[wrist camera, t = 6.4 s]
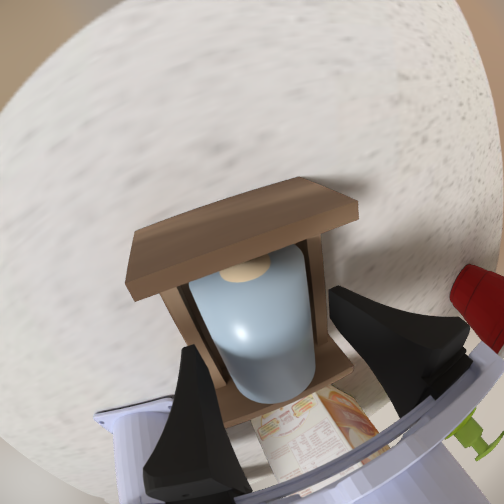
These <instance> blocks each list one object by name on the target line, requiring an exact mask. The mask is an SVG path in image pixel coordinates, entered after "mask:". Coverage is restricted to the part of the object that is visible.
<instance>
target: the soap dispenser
mask: <svg viewBox="0 0 504 504" xmlns="http://www.w3.org/2000/svg"><path fill="white" fill-rule="evenodd" d="M475 410H476V407H475V408H474V410H473V411H472V412H471V413H470V414H469V415H468V416H467V417H466V418H465V419H464V420H463V421H462V422H461V423H460V424H459V425H458V426H457V427H456V428H455V429H454V430H453V431H452V432H451V433H450V434H449V435H448V436H447V437H446V438H445V439H448V438H449V437H451V436H452V435H454V436H455V437H456V438H457V439H458V441H459V442H460V443H461V444H462V445H463V446H464V448H467V447H470V446H472V447H473V448H474V449H475V451H476V452H477V453H478V454H479V455H478V456H477V457H476V458H475V460H476V461H478V460H480V459H481V458H483V457H484V456H486V455H487V454H488V453H489V452H491V451H492V450H493V449H494V448H495V447H496V445H497V444H498V443H499V441H500V440H501V438H502V437H503V435H504V431H503V432H502V433H501V434H500V436H499V437H498V438H497V439H496V440H495V441H494V442H493V443H492V444H490V445H489V446H488V444H487V443H486V442H485V441H484V440H483V439H482V437H481V435H482V432H483V429H482V428H481V427H480V425H479V424H478V423H477V422H476V421H475V420H474V419H473V418H472V417H471V416H472V415H473V413H474V412H475Z"/></svg>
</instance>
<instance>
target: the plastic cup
mask: <svg viewBox="0 0 504 504" xmlns="http://www.w3.org/2000/svg"><path fill="white" fill-rule="evenodd" d="M450 301H451V302H452V304H453V306H454V307H455V308H456V309H457V310H458V311H459V312H460V313H461V315H462V316H463V317H464V319H465V320H466V322H467V323H468V324H469V325H470V326H471V328H472V329H473V330H474V331H475V333H476V334H477V335H478V337H479V338H480V339H481V340H482V341H483V342H484V343H485V344H486V345H487V346H488V347H490V348H491V349H492V350H493V351H494V352H495V353H496V354H497V355H499V356H500V357H501V358H502V359H503V358H504V276H501V275H499V274H497V273H494V272H492V271H487V270H485V269H483V268H480V267H478V266H475V265H471V264H468V265H466V266H465V267H464V268H463V269H462V271H461V272H460V274H459V275H458V277H457V279H456V281H455V283H454V285H453V287H452V290H451V293H450Z"/></svg>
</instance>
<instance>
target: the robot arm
mask: <svg viewBox="0 0 504 504" xmlns="http://www.w3.org/2000/svg"><path fill="white" fill-rule="evenodd" d="M328 291H329V310H330V319H331V320H332V322H333V323H334V325H335V326H336V328H337V329H338V331H339V332H340V333H341V334H342V336H343V337H344V338H345V339H346V340H347V341H348V342H349V343H350V345H351V346H352V347H353V348H354V349H355V350H356V351H357V352H358V354H359V355H360V356H361V357H362V358H363V359H364V360H365V362H366V363H367V364H368V365H369V367H370V368H371V370H372V371H373V373H374V374H375V376H376V377H377V379H378V380H379V382H380V383H381V385H382V387H383V388H384V390H385V392H386V393H387V395H388V397H389V398H390V400H391V402H392V404H393V406H394V408H395V410H396V411H397V413H398V416H399V417H400V419H399V420H398V421H397V422H395V423H394V424H392V425H391V426H389V427H388V428H386V429H385V430H383V431H382V432H380V433H379V434H377V435H376V436H374V437H372V438H371V439H369V440H368V441H366V442H364V443H363V444H361V445H359V446H358V447H356V448H354V449H352V450H351V451H349V452H347V453H345V454H343V455H341V456H340V457H338V458H336V459H334V460H332V461H330V462H328V463H326V464H324V465H322V466H320V467H317V468H315V469H313V470H311V471H309V472H306V473H304V474H302V475H299V476H297V477H295V478H292V479H290V480H287V481H284V482H282V483H279V484H276V485H273V486H271V487H268V488H265V489H262V490H259V491H255V492H252V491H253V490H252V488H251V487H250V485H249V483H248V481H247V479H246V477H245V475H244V473H243V470H242V468H241V466H240V464H239V462H238V459H237V457H236V455H235V452H234V450H233V448H232V445H231V443H230V440H229V438H228V435H227V433H226V430H225V427H224V424H223V420H222V416H221V412H220V408H219V404H218V400H217V395H216V391H215V387H214V384H213V381H212V378H211V375H210V372H209V369H208V367H207V365H206V364H205V362H204V360H203V358H202V357H201V355H200V353H199V351H198V349H197V348H196V346H195V344H192V345H189V346H186V347H183V348H182V351H181V362H180V370H179V376H178V381H177V387H176V391H175V395H174V399H172V398H163V399H160V400H156V401H152V402H148V403H144V404H140V405H136V406H132V407H127V408H123V409H118V410H113V411H108V412H103V413H98V414H94V415H93V419H94V420H95V421H96V422H97V423H98V424H100V425H101V426H102V427H104V428H105V429H106V430H108V431H109V432H110V433H112V434H113V444H114V459H115V470H116V480H117V488H118V495H119V502H120V504H491V503H490V502H489V501H488V499H487V498H486V497H485V496H484V494H483V493H482V492H481V490H480V489H479V488H478V487H477V485H476V484H475V483H474V482H473V480H472V479H471V478H470V476H469V475H468V474H467V473H466V472H465V470H464V469H463V468H462V467H461V465H460V464H459V463H458V462H457V460H456V459H455V458H454V457H453V455H452V454H451V453H450V452H449V451H448V450H447V448H446V447H445V446H444V445H443V443H442V442H441V441H442V440H443V439H445V438H446V437H447V436H448V435H449V434H450V433H451V432H452V431H453V430H454V429H455V428H456V427H457V426H458V425H459V424H460V423H461V422H462V421H463V420H464V419H465V418H466V417H467V416H468V415H469V414H470V413H471V412H472V411H473V410H474V408H475V407H476V406H477V405H478V404H479V403H480V402H481V400H482V399H483V398H484V397H485V396H486V395H487V393H488V392H489V391H490V390H491V388H492V387H493V386H494V385H495V383H496V382H497V381H498V379H499V378H500V377H501V375H502V374H503V372H504V360H503V359H502V358H501V357H500V356H499V355H497V354H496V353H495V352H494V351H493V350H492V349H491V348H490V347H488V346H487V345H486V344H485V343H484V342H483V341H481V342H480V343H479V344H478V345H477V346H476V347H475V348H474V349H473V351H472V352H471V353H470V354H469V356H467V355H466V354H465V353H466V349H465V348H464V347H463V345H464V343H465V341H466V339H467V337H468V334H469V331H470V325H468V324H467V323H466V322H465V321H464V320H462V319H461V318H460V317H438V316H428V315H421V314H415V313H410V312H406V311H402V310H398V309H395V308H392V307H389V306H386V305H383V304H380V303H378V302H375V301H373V300H370V299H368V298H366V297H363V296H361V295H359V294H357V293H354V292H352V291H350V290H348V289H346V288H343V287H341V286H339V285H338V286H336V287H333V288H331V289H329V290H328ZM408 429H409V430H408ZM407 430H408V431H407ZM406 431H407V432H406ZM404 432H406V433H404ZM403 433H404V434H403ZM401 434H403V437H402V438H401V440H400V441H399V442H398V443H397V444H396V445H395V446H393V447H392V448H390V449H389V450H387V451H386V452H384V453H382V454H381V455H379V456H378V457H376V458H374V459H373V460H371V461H370V462H368V463H366V464H365V465H363V466H361V467H360V468H358V469H356V470H355V471H353V472H351V473H349V474H347V475H346V476H344V477H342V478H340V479H339V480H337V481H335V482H333V483H331V484H329V485H327V486H325V487H323V488H321V489H319V490H317V491H315V492H313V493H311V494H309V495H307V496H305V497H300V495H299V494H295V495H291V494H294V493H296V492H299V491H301V490H304V489H306V488H308V487H311V486H313V485H315V484H317V483H320V482H322V481H324V480H326V479H328V478H330V477H332V476H334V475H336V474H338V473H340V472H342V471H344V470H346V469H348V468H349V467H351V466H353V465H355V464H357V463H358V462H360V461H362V460H364V459H365V458H367V457H369V456H370V455H372V454H373V453H375V452H377V451H378V450H380V449H381V448H383V447H384V446H386V445H387V444H389V443H390V442H392V441H393V440H394V439H396V438H397V437H399V436H400V435H401ZM289 495H291V496H289ZM286 496H288V497H286ZM283 497H284V498H283ZM280 498H281V499H280Z"/></svg>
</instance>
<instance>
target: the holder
mask: <svg viewBox="0 0 504 504" xmlns="http://www.w3.org/2000/svg"><path fill="white" fill-rule="evenodd" d="M358 219H359V213H358V201H357V200H355V199H352V198H350V197H348V196H346V195H343V194H341V193H339V192H336V191H334V190H331V189H329V188H327V187H324V186H322V185H319V184H317V183H314V182H312V181H309V180H306V179H304V178H301V177H296V178H292V179H289V180H285V181H282V182H278V183H275V184H272V185H268V186H265V187H261V188H258V189H255V190H252V191H248V192H245V193H242V194H239V195H236V196H233V197H229V198H226V199H223V200H220V201H217V202H214V203H211V204H208V205H205V206H202V207H199V208H197V209H194V210H191V211H188V212H185V213H182V214H179V215H177V216H174V217H171V218H168V219H166V220H163V221H160V222H158V223H155V224H152V225H150V226H147V227H144V228H142V229H139V230H137V231H135V233H134V237H133V242H132V247H131V252H130V257H129V262H128V268H127V274H126V280H125V285H126V287H127V289H128V290H129V292H130V294H131V296H132V298H133V299H134V301H135V302H136V301H139V300H142V299H144V298H147V297H150V296H153V295H155V294H158V293H160V295H161V297H162V299H163V301H164V303H165V305H166V307H167V309H168V311H169V313H170V315H171V317H172V318H173V320H174V322H175V324H176V326H177V328H178V329H179V331H180V333H181V335H182V337H183V338H184V340H185V342H186V344H187V345H188V346H189V345H192V344H195V346H196V348H197V349H198V351H199V353H200V355H201V357H202V358H203V360H204V362H205V364H206V365H207V367H208V369H209V372H210V375H211V378H212V381H213V384H214V387H215V391H216V395H217V400H218V404H219V408H220V412H221V416H222V420H223V424H224V427H225V428H228V427H231V426H234V425H237V424H240V423H243V422H246V421H248V420H251V419H254V418H256V417H259V416H262V415H264V414H267V413H269V412H272V411H274V410H277V409H279V408H281V407H284V406H286V405H288V404H291V403H293V402H295V401H297V400H300V399H302V398H304V397H306V396H308V395H310V394H312V393H314V392H316V391H318V390H320V389H322V388H324V387H326V386H328V385H330V384H332V383H334V382H336V381H338V380H340V379H341V378H343V377H345V376H347V375H349V374H350V373H352V372H353V368H354V365H353V364H352V363H351V361H350V360H349V359H348V358H347V356H346V355H345V354H344V353H343V351H342V350H341V349H340V348H339V346H338V345H337V344H336V343H335V342H334V340H333V339H332V338H331V337H330V335H329V334H328V330H327V309H326V293H325V279H324V266H323V255H322V245H321V235H320V234H321V233H324V232H327V231H329V230H332V229H335V228H337V227H340V226H343V225H345V224H348V223H351V222H353V221H356V220H358ZM292 244H295V245H296V246H297V247H298V248H299V249H300V250H301V251H302V253H303V256H304V262H305V269H306V277H307V285H308V293H309V302H310V311H311V321H312V331H313V341H314V353H315V365H316V367H315V374H314V377H313V379H312V381H311V383H310V384H309V385H308V387H307V388H306V389H305V390H304V391H303V392H302V393H300V394H299V395H298V396H296V397H294V398H292V399H290V400H287V401H284V402H281V403H275V404H266V403H259V402H255V401H253V400H251V399H249V398H247V397H245V396H244V395H243V394H242V393H241V392H240V391H239V390H238V388H237V387H236V385H235V383H234V381H233V379H232V377H231V375H230V373H229V371H228V369H227V367H226V365H225V363H224V361H223V359H222V357H221V355H220V353H219V351H218V349H217V347H216V345H215V343H214V341H213V339H212V337H211V335H210V332H209V330H208V328H207V326H206V324H205V322H204V320H203V317H202V315H201V313H200V311H199V309H198V306H197V304H196V302H195V300H194V297H193V295H192V293H191V290H190V288H189V282H191V281H194V280H197V279H200V278H202V277H205V276H208V275H211V274H213V273H216V272H219V271H221V270H224V269H227V268H230V267H232V266H235V265H238V264H241V263H243V262H246V261H249V260H251V259H254V258H257V257H259V256H262V255H265V254H268V253H270V252H273V251H276V250H278V249H281V248H284V247H286V246H289V245H292Z"/></svg>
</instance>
